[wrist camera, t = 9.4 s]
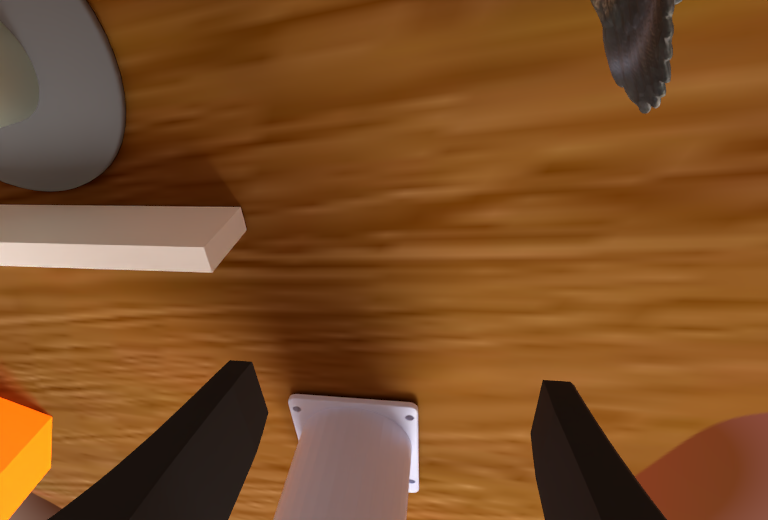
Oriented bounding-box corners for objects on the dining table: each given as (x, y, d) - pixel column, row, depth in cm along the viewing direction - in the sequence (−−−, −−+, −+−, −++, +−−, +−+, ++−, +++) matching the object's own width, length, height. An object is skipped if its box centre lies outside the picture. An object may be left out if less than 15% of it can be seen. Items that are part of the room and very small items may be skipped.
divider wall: (246, 229, 20) (212, 272, 17) (-75, 224, 22) (-153, 260, 19) (240, 206, 19) (203, 247, 16) (-90, 203, 22) (-173, 238, 19)
